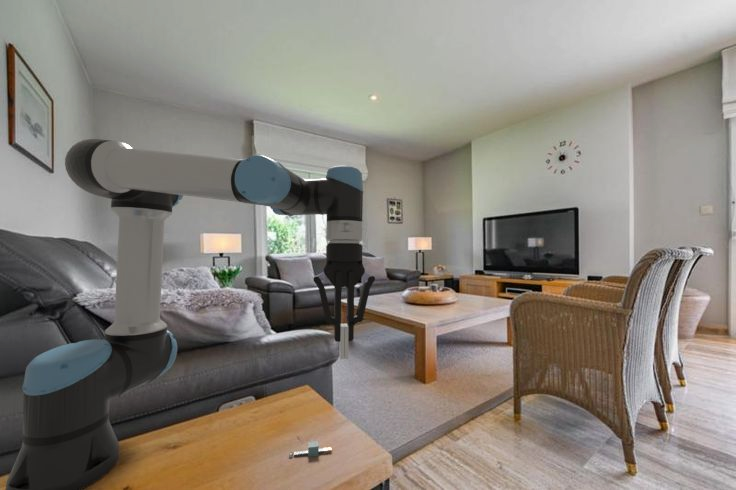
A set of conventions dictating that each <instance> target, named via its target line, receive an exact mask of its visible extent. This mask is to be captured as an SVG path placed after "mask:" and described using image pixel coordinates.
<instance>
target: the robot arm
mask: <svg viewBox="0 0 736 490" xmlns="http://www.w3.org/2000/svg"><path fill="white" fill-rule="evenodd" d="M64 166H65V171H66V173H67V175H68V177H69V178H70V179H71V181H72V182H73V183H74V184H75V185H76V186H78V187H79V188H80V189H81V190H83V191H85V192H87V193H89V194H92V195H95V196H97V197H102V198H106V199H110V200H111V201H110V210H111V211H112V212H114V214H115V215H117V217H118V235H117V238H118V239H117V255H116V257H117V259H116V276H115V277H116V280H115V299H114V300H115V301H114V318H113V319H114V321H113V323H112V324H111V325H110V326H108V327H107V328H106V329H105V330H104V339H101V338H100V339H99V338H98V339H86V340H85V339H84V340H80V341H78V342H74V343H73V342H71V343H67V344H63V345H60V346H57V347H54V348H51V349H49V350H47V351H45V352H42V353H40V354H39V355H37V356H36V357H34V358H33V359H32V360H30V362H29V363H28V365H27V366H26V369H25V373H24V378H23V383H22V387H21V388H22V389H21V390H22V391H23V405H22V406H23V412H22V413H23V415H22V443H21V447H20V450H19V452H18V455H17V457H16V459H15V461H14V464H13V466H12V468H11V471H10V473H9V475H8V478H7V480H6V483H5V490H83V489H84V488H86V487H88V486H90V485H92V484H94V483H95V482H97V481H98V480H100V479H101V478H103V477H104V476H106V475H107V474H108V473H109V472H110V471H111V470H112V469H113V468H114V467H115V466H116V465H117V463H118V461H119V459H120V442H119V441H118V438H117V436H116V434H115V432H114V429H113V427H112V424H111V422H110V401H111V400H114V399H116V398H117V397H120V396H122V395H124V394H126V393H128V392H131V391H132V390H135V389H136V388H139V387H141V386H143V385H146V384H149V383H151V382H152V381H154V380H156V379H158V378H159V377H161V376H162V375H165V373H166V372H168V371H169V369H171V367H172V366H173V365H174V363H175V360H176V358H177V354H178V343H177V340H176V338H174V335H173V333H172V332H171V331H170V330H168V324H167V323H166V322H165V321H163V320H162V319H161V302H162V282H163V278H162V277H163V260H164V257H163V255H164V238H165V237H164V233H165V220H166V219H167V218H169V217H171V216H172V214H173V208H174V207H176V206H177V205H178V204H179V203H180V200H183V197H184V196H186V197H195V198H203V199H211V200H212V199H213V200H217V201H218V200H219V201H229V202H237V203H243V204H249V205H257V206H265V207H269V208H270V209H271V210H272V212H273V213H274V214H275V215H278V216H289V217H293V216H307V215H308V216H310V215H312V216H314V215H320V216H321V215H324V216H325V215H326V233H325V234H326V235H325V236H326V241H328V243H326V244H327V245H326V249H325V252H326V254H325V255H326V256H325V260H326V262H325V265H324V268H323V272H321V273H319V274H318V275H314V276H313V282H314V284H315V285H316V287H317V288H318V290H319V291H318V292H319V297H320V300H321V305H322V309H323V313H324V317H325V321H326V323H327V324H331V325H333V328H334V329H333V332H334V333H333V337H334V338H333V339H334V341H335V343H337V342H338V344H339V345H338V346H339V347H338V348H339V351H338V354H339V358H340V360H349V342H353V341H354V337H355V336H354V333H355V331H354V330H355V329H354V328H355V327H354V326H355V325H356V324H358V323H362V322H363V321H364V315H365V310H366V307H367V303H368V298H369V295H370V291H371V287H372V286H373V284H374V282H375V280H376V277H375V276H373V275H371V274H370V273H368V272H367V271H366V270H365V266H364V265H363V263H364V262H363V245H362V243H360V242H361V241H363V216H364V215H363V213H364V212H363V207H364V189H363V173H362V172H361V171H360V169H358V168H357V167H354V166H351V165H336V166H332V167H329V168H328V169H327V171H326V175H325V177H324V178H313V179H312V178H308V179H307V178H302V177H301V176H299V175H298V174H295V173H294V172H293V171H291V170H290V169H289V168H287V167H285V166H284V165H282V163H280V162H278V161H276V159H273V158H270V157H267V156H265V155H262V154H257V155H256V154H254V155H251V156H248V157H246V158H244V159H242V158H241V159H240V158H233V157H221V156H211V155H201V154H192V153H182V152H172V151H162V150H153V149H143V148H134V147H131V146H130V145H129V144H127V143H125V142H121V141H119V140H118V141H117V140H108V139H100V138H88V139H83V140H81V141H78V142H77V143H75V144H73V145H72V146H71V147H70V148H69V150H68V151H67V152H66V155H65V159H64ZM326 278H327V279H328V280H329V282H330V283H331V285H332V286H333V287H334V298H333V299H334V303H333V305H334V306H333V308H334V309H333V312H334V313H333V316H332V314H331V310H330V306H329V300H328V297H327V292H326V288H325V285H324V284H325V283H326ZM361 279H362V280H361ZM360 280H361V281H362V282H363V284H362V286H361V290H360V291H361V292H360V295H359V299H358V304H357V308H356V312H355V286H356V285H358V283H359V281H360ZM342 288H346V323H342V292H343V290H342Z"/></svg>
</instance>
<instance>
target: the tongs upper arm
mask: <svg viewBox="0 0 736 490" xmlns="http://www.w3.org/2000/svg"><path fill="white" fill-rule="evenodd" d="M332 452H333V451H332V447H331V446H329V447H323V448H319V453H318V455H323V454H332ZM305 456H308V450H301V451H300V450H299V451H294V452H293V451H290V452H289V455H288V458H289V459H291V458H296V457H305Z"/></svg>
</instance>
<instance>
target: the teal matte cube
mask: <svg viewBox="0 0 736 490" xmlns="http://www.w3.org/2000/svg"><path fill="white" fill-rule="evenodd" d="M307 443H308V445H307V446H308V447H307V448H308V455H307V457H308V458H310V457H316V456H317V457H319V454H318V453H319V449H320V448H319V440H318V441H317V440H316V441H315V440H314V441H308V442H307Z"/></svg>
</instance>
